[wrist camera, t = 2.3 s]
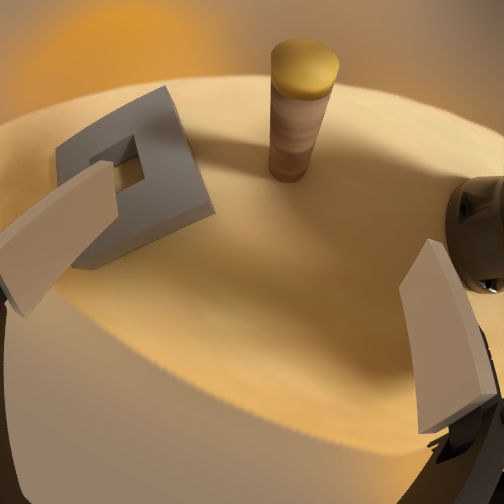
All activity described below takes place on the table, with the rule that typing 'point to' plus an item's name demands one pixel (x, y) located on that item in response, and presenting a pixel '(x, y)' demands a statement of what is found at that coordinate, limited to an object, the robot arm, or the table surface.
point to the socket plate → (154, 168)
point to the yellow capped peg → (298, 103)
